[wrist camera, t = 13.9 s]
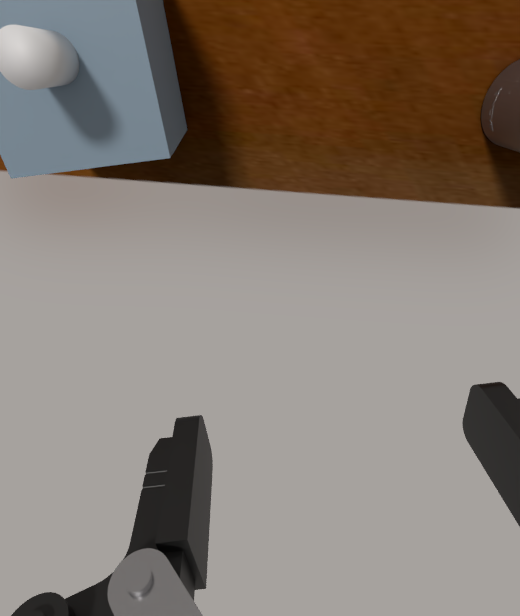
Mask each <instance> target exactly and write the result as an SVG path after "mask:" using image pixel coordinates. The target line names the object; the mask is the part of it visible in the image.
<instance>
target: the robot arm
mask: <svg viewBox="0 0 520 616" xmlns="http://www.w3.org/2000/svg"><path fill="white" fill-rule="evenodd" d="M481 122H482V128H483V130H484V133H485V135H486V136H487V137H488V139H489V140H490V141H491V142H493V143H494V144H496V145H499V146H502V147H505V148H508V149H511V150H514V151H517V152H520V59H519V60H518V61H516V62H514V63H512V64H511V65H509V66H508V67H507V68H506V69H505V70H503V71H502V72H501V73H500V75H499V76H498V77H497V78H496V79H495V80H494V82H493V83H492V85H491V87H490V88H489V90H488V92H487V94H486V96H485V99H484V102H483V106H482V112H481ZM463 430H464V434H465V437H466V439H467V441H468V443H469V444H470V446H471V448H472V449H473V451H474V453H475V454H476V456H477V458H478V459H479V461H480V462H481V464H482V466H483V467H484V469H485V471H486V472H487V474H488V476H489V477H490V479H491V480H492V482H493V484H494V485H495V487H496V488H497V490H498V492H499V493H500V495H501V497H502V498H503V500H504V502H505V503H506V505H507V506H508V508H509V510H510V511H511V513H512V515H513V516H514V518H515V520H516V521H517V523H518V525H519V526H520V399H517V398H516V397H515V396H514V395H513V393H512V392H511V391H510V390H509V388H508V387H507V386H506V385H505V384H503V383H501V382H495V383H487V384H478V385H473V386H472V387H471V389H470V393H469V397H468V401H467V405H466V409H465V413H464V418H463ZM211 486H212V453H211V447H210V443H209V439H208V435H207V431H206V428H205V424H204V420H203V417H202V416H201V415H200V416H191V417H182V418H177V419H176V421H175V426H174V432H173V437H170V438H161V439H159V441H158V442H157V444H156V445H155V447H154V448H153V450H152V451H151V453H150V455H149V459H148V464H147V468H146V475H145V477H144V482H143V490H142V491H141V496H140V500H139V505H138V510H137V514H136V519H135V523H134V528H133V532H132V537H131V542H130V546H129V549H128V552H127V554H126V556H125V558H124V559H123V560H122V561H121V563H120V564H119V565H118V566H117V568H116V569H115V571H114V572H113V573H112V574H111V575H110V576H108V577H107V578H106V579H104V580H103V581H101V582H99V583H97V584H96V585H94V586H91V587H89V588H87V589H85V590H83V591H81V592H79V593H77V594H74V595H72V596H70V597H68V598H66V599H64V598H63V597H61V596H60V595H59V594H56V593H52V592H49V593H42V594H39V595H36V596H34V597H32V598H31V599H29V600H27V601H26V602H25V603H24V604H22V605H21V606H20V607H19V608H18V609H17V610H16V611H15V612H14V613H13V614H12V615H11V616H202V614H201V612H200V611H199V609H198V607H197V606H196V604H195V603H194V591H195V590H198V589H205V588H206V578H207V560H208V559H207V558H208V541H209V523H210V505H211Z"/></svg>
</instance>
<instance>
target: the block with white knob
mask: <svg viewBox="0 0 520 616" xmlns="http://www.w3.org/2000/svg"><path fill="white" fill-rule="evenodd" d="M186 131H187V125H186V120H185V115H184V109H183V104H182V99H181V94H180V88H179V83H178V78H177V73H176V67H175V62H174V57H173V52H172V46H171V41H170V36H169V31H168V25H167V20H166V15H165V10H164V4H163V0H0V155H1V157H2V159H3V161H4V164H5V166H6V168H7V171H8V173H9V175H10V177H11V178H17V177H26V176H34V175H42V174H50V173H58V172H65V171H73V170H81V169H89V168H97V167H104V166H112V165H120V164H128V163H136V162H144V161H151V160H159V159H167V158H171V156H172V154H173V153H174V151H175V149H176V148H177V146H178V144H179V143H180V141H181V139H182V138H183V136H184V134H185V133H186Z"/></svg>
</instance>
